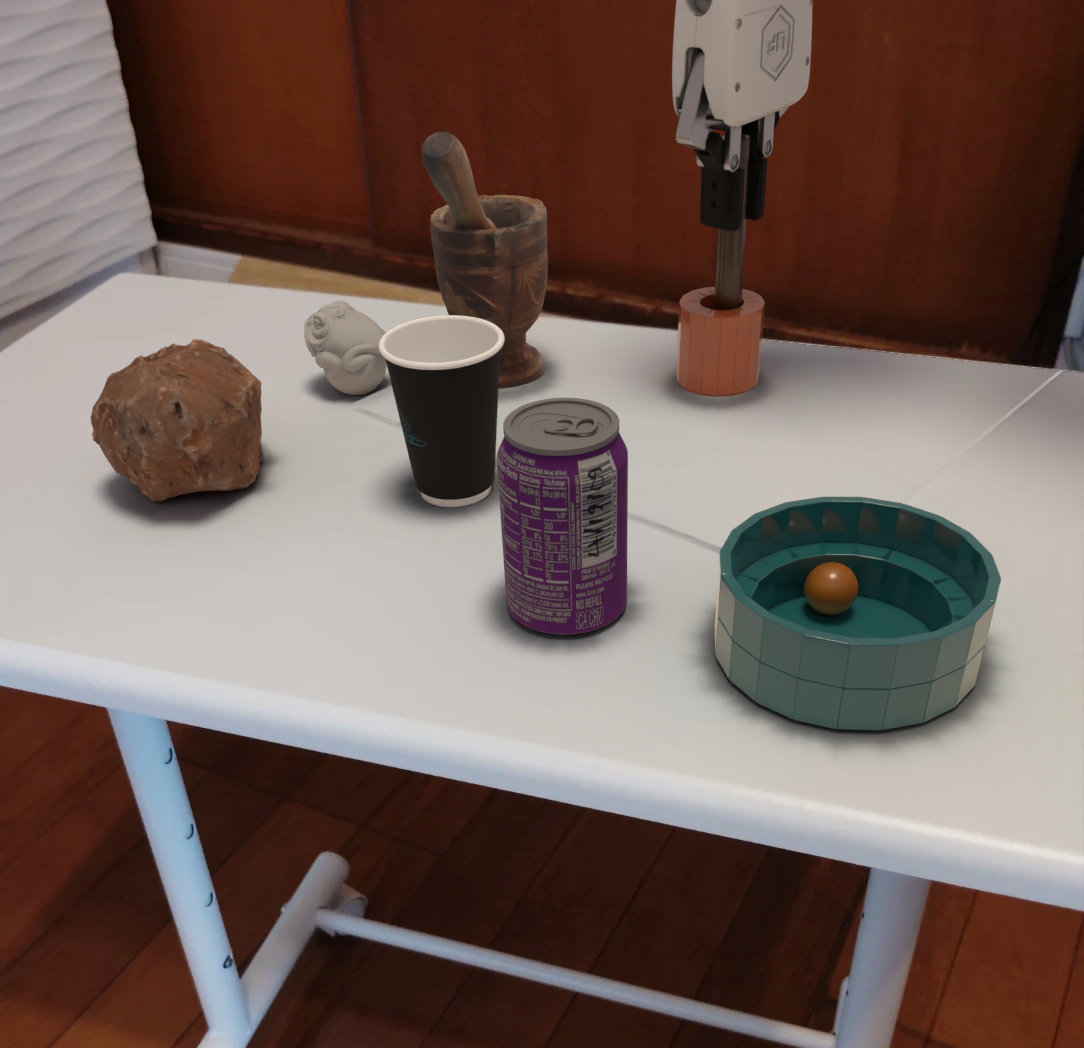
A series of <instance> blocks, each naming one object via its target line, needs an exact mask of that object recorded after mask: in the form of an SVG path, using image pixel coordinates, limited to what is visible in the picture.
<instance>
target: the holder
mask: <svg viewBox="0 0 1084 1048" xmlns="http://www.w3.org/2000/svg"><path fill="white" fill-rule="evenodd" d="M714 300H715V286H707V287H701V288H697V289H693V290H691V291H688V292H687V293H685V294H683V295H682V297H681V298H680V300H679V302H678V321H677V322H678V323H677V325H678V326H677V351H676V352H677V354H676V381H677V383H678V385H679V386H680V387H681V388H682V389H683V390H686V391H687V392H690V393H692V394H695V395H701V396H706V397H731V396H736V395H737V396H738V395H741V394H744V393H746V392H749V391H751V390H752V389H754V388H755V387H756V386H757V384H758V382H759V379H760V369H761V357H762V356H761V355H762V343H763V333H764V318H765V306H766V303H765V300H764V298H763V297H762V295H760V294H758V293H757V292H755V291H753V290H749V289H745V288H742V305H741V306H740V307H739V308H736V309H732V310H714Z"/></svg>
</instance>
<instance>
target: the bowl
mask: <svg viewBox="0 0 1084 1048" xmlns="http://www.w3.org/2000/svg"><path fill="white" fill-rule="evenodd" d="M828 562H836V563H840V564H843V565H845V566H847V567H848V568H849V569H850V570H851V571H852V572H853V573H854V574H855V576H856V578H857V581H858V595H857V598H856V600H855V602H854V603H853V605H852V606H851V607H850V608H849V609H848V610H846V611H845V612H843V613H841V614H837V615H824V614H821V613H818V612H817V611H815V610H814V609H813V608H811V607H810V605H809V604H808V602H807V600H806V598H805V595H804V585H805V581H806V578H807V576H808V575H809V573H810V572H811V571H812V570H813V569H814V568H816V567H817V566H819V565H821V564H823V563H828ZM717 570H718V571H717V585H716V600H715V615H714V616H715V617H714V632H713V633H714V637H713V639H714V656H715V658H716V660H717V661H718V663H719V665H720V667H721V668H722V670H723V672H724V674H725V675H726V677H727V679H728V680H729V681H730V682H731V683H732V684H733V685H735V686H736V687H737V688H738V689H739V690H740V691H742V692H743V693H744V694H745V695H746V696H748V697H749V698H750V699H751V700H753V701H754V702H755V703H756V704H758V705H760V706H763V707H765V708H767V709H769V710H771V711H773V712H775V713H777V714H780V715H782V716H784V717H786V718H789V719H790V720H793V721H797V722H801V723H806V724H811V725H813V726H814V725H815V726H819V727H824V728H828V729H831V730H851V731H852V730H853V731H886V730H891V729H896V728H901V727H908V726H913V725H919V724H923V723H926V722H928V721H930V720H932V719H934V718H937V717H938V716H940V715H942V714H944V713H946V712H948V711H951V710H953V709H955V707H957V706H958V705H959V704H960V702H961V701H962V700H964V698H965V697H966V696H967V695H968V694H969V693H970V691H971V690H973V688H974V687H975V686H976V684H977V680H978V676H979V671H980V667H981V664H982V660H983V655H984V651H985V647H986V643H987V639H988V635H989V631H990V627H991V624H992V619H993V616H994V612H995V607H996V603H997V598H998V594H999V590H1000V586H1001V582H1002V577H1001V574H1000V572H999V569H998V566H997V563H996V561H995V558H994V555H993V554H992V553H991V552H990V551H989V550H988V549H987V547H985V546H984V544H983V543H981V541H980V540H979V539H977V538H976V537H975V535H973V534H972V533H971V531H968V530H966V529H965V528H963V527H961V526H960V525H957V524H956V523H955V522H952V521H951V520H949V519H947V518H945V517H943V516H942V515H939V514H937V513H934V512H930V511H927V510H924V509H921V508H919V507H915V506H912V505H909V504H907V503H902V502H898V501H891V500H884V499H878V498H873V497H866V496H817V497H810V498H804V499H797V500H791V501H786V502H782V503H779V504H777V505H774V506H772V507H769V508H766V509H763V510H761V511H758V512H755V513H754V514H751V516H749V517H748V518H747V519H745V520H744V521H742V522H741V523H739V524H738V525H737V526H736V527H734V528H733V529H732V530H731V531H730V532H729V534H728V536H727V537H726V540H725V541H724V543H723V545H722V547H721V549H720V550H719V555H718V569H717Z"/></svg>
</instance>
